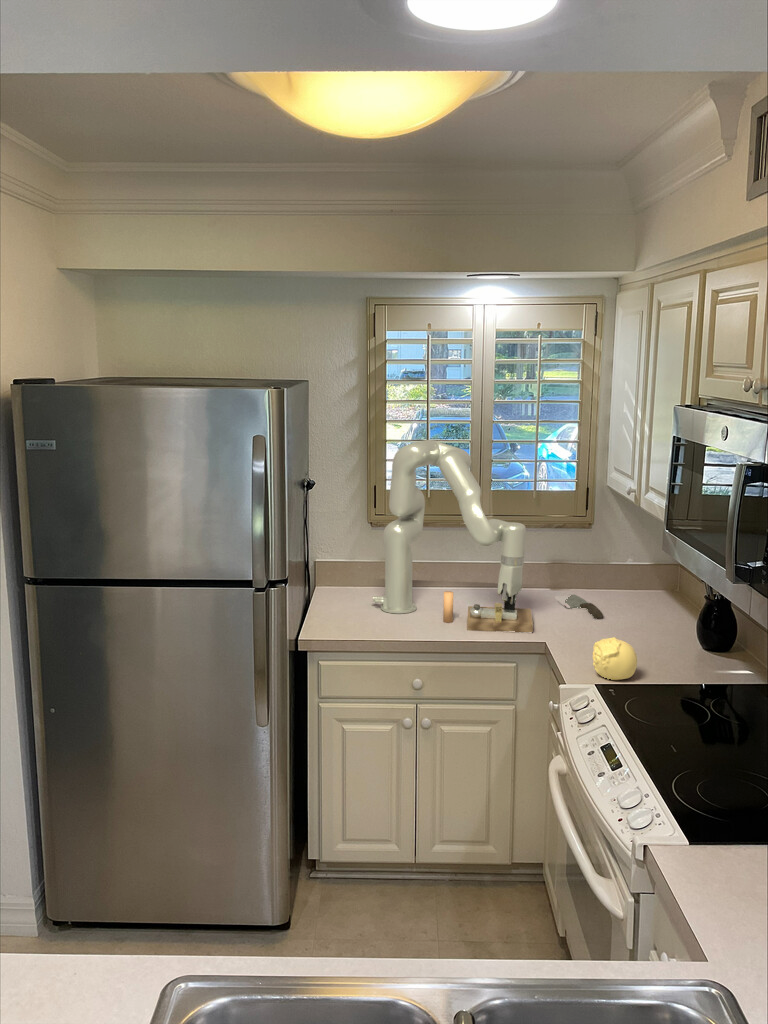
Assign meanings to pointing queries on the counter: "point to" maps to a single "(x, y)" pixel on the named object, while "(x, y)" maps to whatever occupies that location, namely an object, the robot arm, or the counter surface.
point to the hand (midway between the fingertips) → (509, 614)
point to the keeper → (498, 612)
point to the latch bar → (492, 613)
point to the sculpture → (614, 659)
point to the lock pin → (448, 607)
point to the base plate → (489, 624)
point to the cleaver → (584, 605)
